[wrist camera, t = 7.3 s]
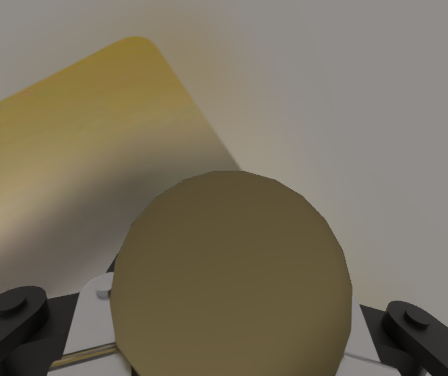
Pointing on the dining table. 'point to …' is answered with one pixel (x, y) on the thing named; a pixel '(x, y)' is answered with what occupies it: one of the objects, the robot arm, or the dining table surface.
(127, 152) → the dining table surface
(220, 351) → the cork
